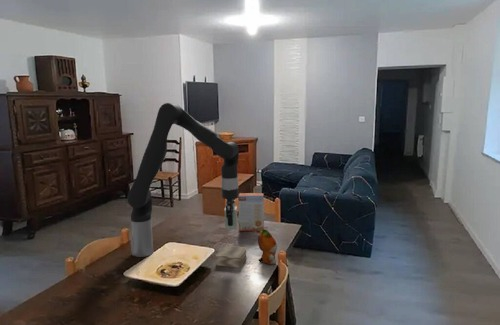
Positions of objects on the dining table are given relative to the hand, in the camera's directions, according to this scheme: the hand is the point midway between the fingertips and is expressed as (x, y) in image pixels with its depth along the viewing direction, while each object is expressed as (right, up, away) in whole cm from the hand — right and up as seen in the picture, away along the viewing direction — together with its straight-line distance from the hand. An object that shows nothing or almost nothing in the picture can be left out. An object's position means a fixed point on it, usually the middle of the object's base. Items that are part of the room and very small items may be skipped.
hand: (231, 223), depth 165 cm
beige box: (0, -18, +2) cm, 18 cm away
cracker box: (+10, -11, +42) cm, 44 cm away
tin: (0, -2, 0) cm, 2 cm away
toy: (+17, -18, +2) cm, 24 cm away
